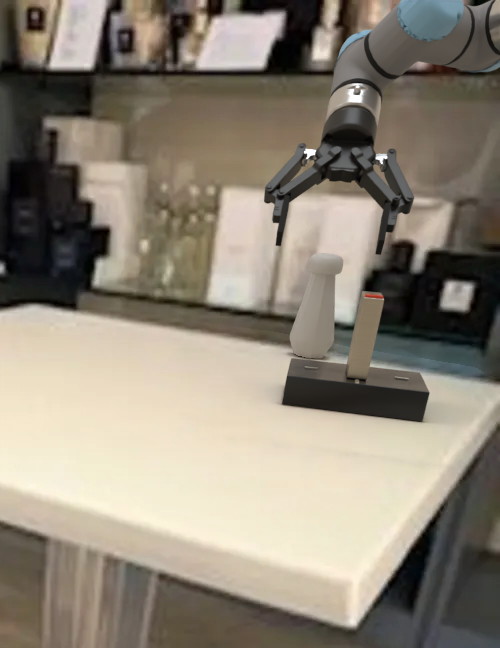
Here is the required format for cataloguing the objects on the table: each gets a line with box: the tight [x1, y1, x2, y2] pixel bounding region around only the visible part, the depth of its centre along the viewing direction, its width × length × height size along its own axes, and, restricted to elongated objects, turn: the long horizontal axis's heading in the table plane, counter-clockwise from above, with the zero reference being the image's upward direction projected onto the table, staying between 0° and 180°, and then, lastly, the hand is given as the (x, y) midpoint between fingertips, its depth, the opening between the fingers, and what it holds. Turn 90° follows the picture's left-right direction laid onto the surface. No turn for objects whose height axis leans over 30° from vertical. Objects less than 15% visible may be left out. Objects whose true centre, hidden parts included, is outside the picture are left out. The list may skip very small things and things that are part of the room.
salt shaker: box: [289, 252, 344, 360], centre depth 116 cm, size 6×6×13 cm
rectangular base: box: [281, 357, 431, 422], centre depth 94 cm, size 14×11×3 cm
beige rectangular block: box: [346, 290, 385, 380], centre depth 92 cm, size 6×2×8 cm, turn 163°
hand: (328, 243), depth 121 cm, fingers open, 13 cm apart
